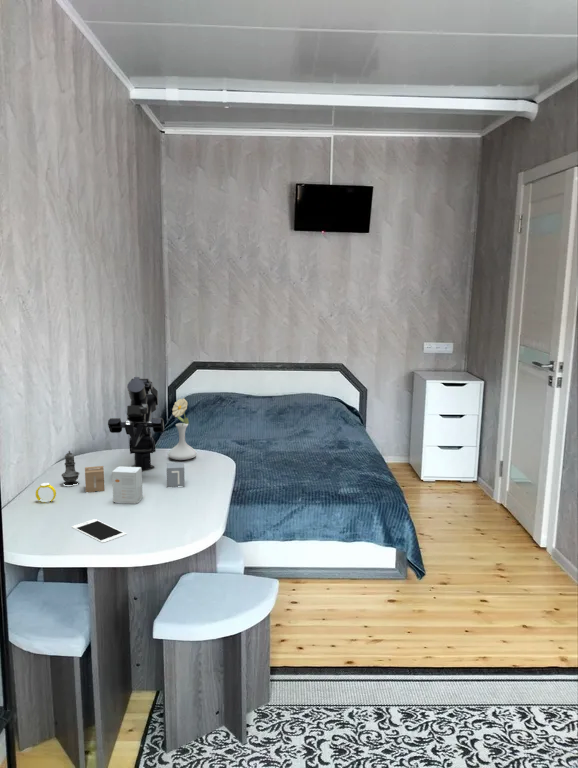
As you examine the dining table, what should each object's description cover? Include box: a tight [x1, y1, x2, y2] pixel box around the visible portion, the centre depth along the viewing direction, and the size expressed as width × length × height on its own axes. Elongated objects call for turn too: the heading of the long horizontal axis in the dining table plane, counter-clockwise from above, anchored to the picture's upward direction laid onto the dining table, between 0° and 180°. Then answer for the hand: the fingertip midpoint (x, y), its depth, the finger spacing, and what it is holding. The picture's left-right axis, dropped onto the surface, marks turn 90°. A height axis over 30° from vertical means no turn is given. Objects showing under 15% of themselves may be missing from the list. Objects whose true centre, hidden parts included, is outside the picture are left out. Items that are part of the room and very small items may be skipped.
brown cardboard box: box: [84, 465, 105, 493], centre depth 204 cm, size 6×6×7 cm
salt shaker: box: [61, 450, 80, 485], centre depth 208 cm, size 6×6×12 cm
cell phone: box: [71, 518, 127, 544], centre depth 171 cm, size 8×16×1 cm, turn 50°
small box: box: [111, 466, 144, 505], centre depth 194 cm, size 8×6×10 cm
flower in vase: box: [167, 397, 198, 461], centre depth 238 cm, size 13×11×25 cm
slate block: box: [166, 462, 186, 488], centre depth 210 cm, size 6×6×7 cm
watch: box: [35, 482, 57, 502], centre depth 192 cm, size 6×3×6 cm, turn 92°
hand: (134, 446), depth 207 cm, fingers closed
